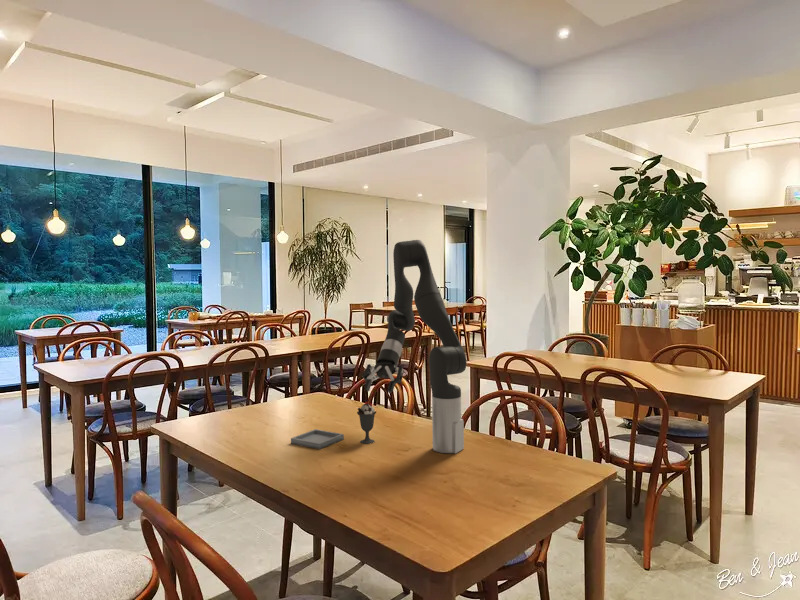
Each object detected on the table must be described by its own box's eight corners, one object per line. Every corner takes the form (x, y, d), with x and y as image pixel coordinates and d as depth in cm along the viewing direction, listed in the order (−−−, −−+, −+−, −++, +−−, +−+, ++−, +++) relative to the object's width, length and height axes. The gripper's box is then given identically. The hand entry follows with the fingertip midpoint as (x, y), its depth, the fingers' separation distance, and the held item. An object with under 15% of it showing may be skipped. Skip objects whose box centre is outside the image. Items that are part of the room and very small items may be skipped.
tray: (343, 439, 187) (343, 434, 187) (319, 449, 176) (319, 443, 176) (315, 434, 193) (315, 429, 193) (290, 443, 182) (290, 438, 182)
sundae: (378, 438, 187) (377, 395, 186) (375, 445, 180) (374, 400, 179) (359, 438, 187) (358, 395, 187) (355, 444, 180) (355, 399, 180)
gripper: (369, 347, 202) (356, 383, 192) (405, 348, 196) (393, 386, 186) (375, 359, 207) (363, 395, 197) (410, 361, 202) (399, 398, 191)
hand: (377, 391), depth 192 cm, fingers open, 8 cm apart
